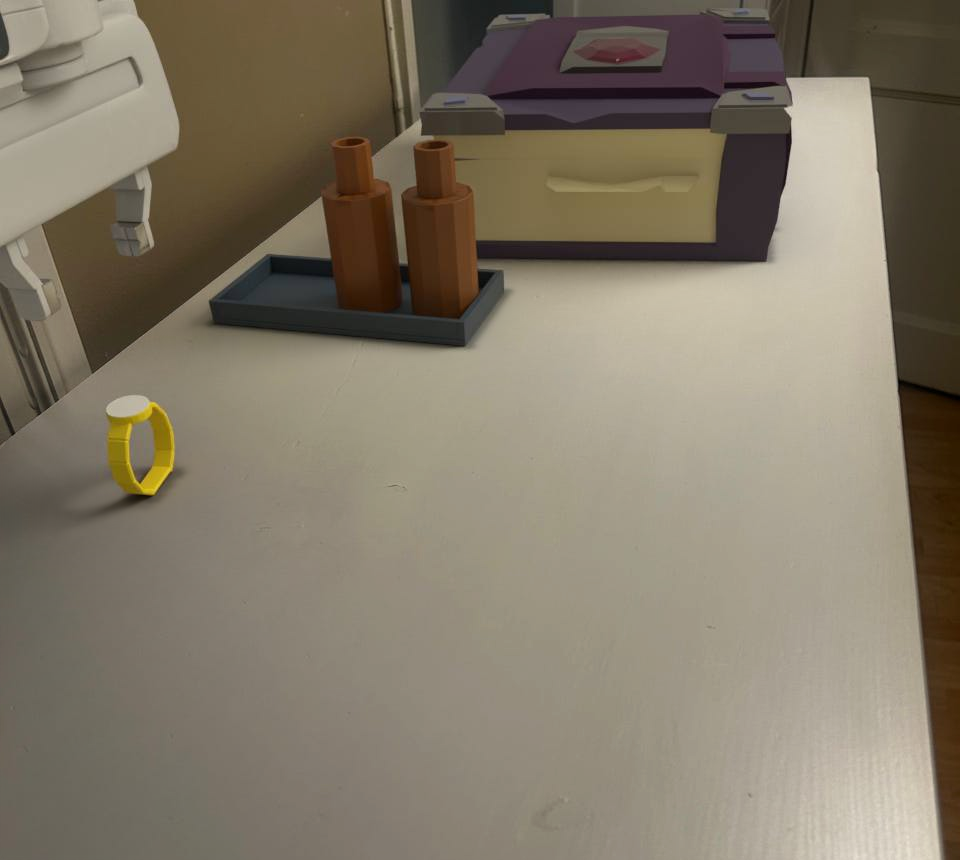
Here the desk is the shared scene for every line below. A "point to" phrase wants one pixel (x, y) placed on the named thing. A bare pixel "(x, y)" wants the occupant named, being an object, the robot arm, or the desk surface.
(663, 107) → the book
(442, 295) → the bottle far
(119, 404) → the watch
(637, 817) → the desk surface
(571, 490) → the desk surface
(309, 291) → the tray
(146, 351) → the desk surface
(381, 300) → the bottle mid
